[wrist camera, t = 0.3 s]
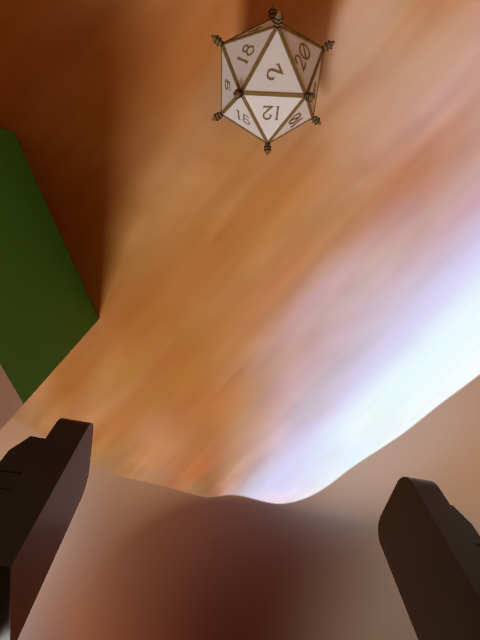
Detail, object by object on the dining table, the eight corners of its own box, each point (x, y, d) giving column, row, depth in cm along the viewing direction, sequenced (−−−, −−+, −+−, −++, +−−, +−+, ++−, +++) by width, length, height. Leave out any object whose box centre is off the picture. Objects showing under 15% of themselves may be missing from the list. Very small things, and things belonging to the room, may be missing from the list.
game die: (253, 77, 34) (264, -61, 24) (332, 125, 33) (377, 1, 23) (191, 142, 32) (176, 19, 22) (273, 197, 31) (295, 92, 21)
